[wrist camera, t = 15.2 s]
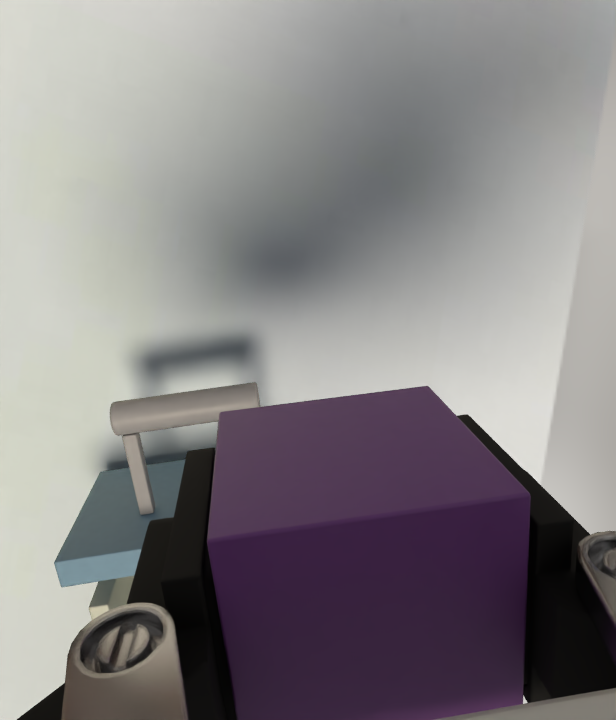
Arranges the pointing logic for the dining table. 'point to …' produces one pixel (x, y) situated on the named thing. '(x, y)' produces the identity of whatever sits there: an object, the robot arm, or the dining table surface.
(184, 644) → the robot arm
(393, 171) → the dining table surface
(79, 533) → the drawer
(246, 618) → the cube
